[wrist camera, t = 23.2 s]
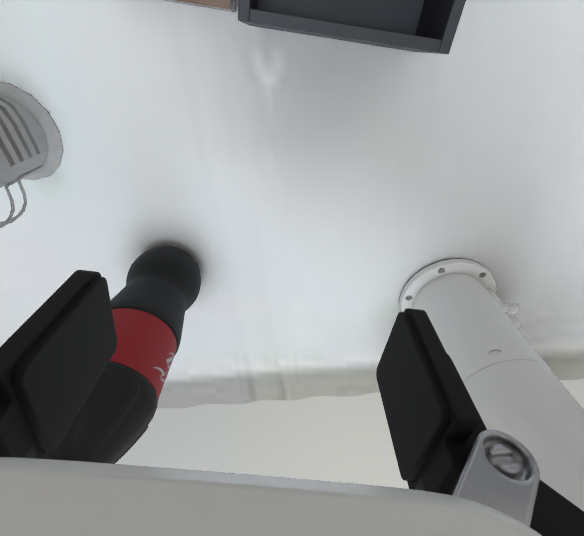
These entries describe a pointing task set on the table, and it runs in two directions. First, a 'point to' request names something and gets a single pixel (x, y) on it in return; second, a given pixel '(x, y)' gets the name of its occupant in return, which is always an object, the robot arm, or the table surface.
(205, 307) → the table surface
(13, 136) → the french press
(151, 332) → the cola bottle
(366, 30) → the dark grey open box
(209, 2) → the block
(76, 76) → the table surface
